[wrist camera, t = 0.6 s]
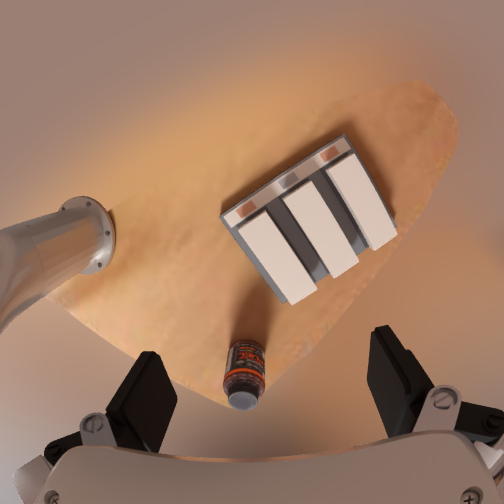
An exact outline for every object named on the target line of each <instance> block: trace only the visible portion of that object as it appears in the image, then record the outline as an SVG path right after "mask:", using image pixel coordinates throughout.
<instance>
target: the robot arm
mask: <svg viewBox="0 0 504 504" xmlns="http://www.w3.org/2000/svg"><path fill="white" fill-rule="evenodd" d="M109 231H110V232H109ZM114 249H115V230H114V226H113V223H112V220H111V218H110V216H109V214H108V213H107V211H106V210H105V208H104V207H103V206H102V205H101V204H100V203H99V202H97V201H96V200H94V199H92V198H90V197H85V196H80V197H74V198H72V199H69V200H68V201H66V202H65V203H64V204H63V205H62V206H61V208H60V209H59V211H58V212H56V213H52V214H49V215H45V216H41V217H38V218H35V219H31V220H28V221H25V222H22V223H19V224H15V225H12V226H10V227H6V228H3V229H1V230H0V334H1V333H2V332H3V331H4V329H5V328H6V327H7V326H8V325H9V324H10V323H11V322H12V321H13V320H14V319H15V318H16V317H17V316H19V315H20V314H21V313H22V312H23V311H25V310H26V309H27V308H29V307H30V306H31V305H33V304H34V303H36V302H37V301H38V300H40V299H41V298H43V297H44V296H46V295H47V294H48V293H50V292H51V291H53V290H54V289H56V288H57V287H59V286H60V285H61V284H63V283H64V282H66V281H67V280H69V279H70V278H72V277H73V276H75V275H77V274H78V273H81V274H86V275H91V274H95V273H97V272H99V271H101V270H102V269H104V268H105V267H106V266H107V265H108V264H109V262H110V260H111V259H112V256H113V253H114ZM367 382H368V386H369V388H370V391H371V393H372V396H373V398H374V401H375V403H376V406H377V409H378V411H379V414H380V416H381V419H382V422H383V424H384V427H385V430H386V432H387V435H388V438H387V439H383V440H379V441H375V442H371V443H367V444H363V445H358V446H353V447H348V448H342V449H338V450H332V451H326V452H320V453H312V454H304V455H296V456H285V457H273V458H250V459H224V458H223V459H222V458H200V457H187V456H177V455H168V454H161V453H158V452H159V450H160V447H161V444H162V441H163V439H164V436H165V433H166V430H167V428H168V425H169V422H170V420H171V417H172V414H173V412H174V409H175V406H176V404H177V395H176V392H175V390H174V388H173V386H172V384H171V381H170V379H169V377H168V374H167V372H166V370H165V367H164V365H163V362H162V360H161V357H160V355H158V354H156V352H154V351H143V352H142V353H141V354H140V356H139V357H138V359H137V360H136V362H135V364H134V365H133V367H132V368H131V370H130V372H129V373H128V375H127V376H126V378H125V379H124V381H123V382H122V384H121V385H120V387H119V389H118V390H117V392H116V394H115V395H114V397H113V398H112V400H111V401H110V403H109V405H108V406H107V408H106V411H107V412H106V414H105V415H104V414H102V413H91V414H89V415H87V416H86V417H85V418H83V419H82V421H81V423H80V431H78V432H76V433H73V434H71V435H68V436H65V437H63V438H60V439H57V440H55V441H53V442H50V443H49V444H48V445H47V447H46V448H45V451H44V456H42V455H39V456H38V457H36V458H35V459H33V460H32V461H30V462H29V463H27V464H25V465H24V466H22V467H21V468H19V469H18V470H17V471H16V472H15V473H14V475H13V481H14V484H15V486H16V488H17V490H18V493H19V495H20V497H21V499H22V500H23V502H24V504H504V412H503V411H502V410H499V409H496V408H491V407H486V406H481V405H476V404H472V403H467V402H463V401H461V394H460V392H459V391H458V390H457V389H456V388H454V387H453V386H449V385H439V386H437V387H435V386H434V385H433V384H432V382H431V380H430V378H429V377H428V375H427V374H426V373H425V371H424V370H423V368H422V366H421V365H420V363H419V362H418V360H417V359H416V358H415V356H414V355H413V353H412V352H411V351H410V350H405V348H404V347H403V345H402V344H401V342H400V341H399V339H398V338H397V337H396V335H395V334H394V332H393V331H392V329H391V328H390V327H389V326H388V325H385V326H380V327H376V328H375V331H373V332H371V340H370V353H369V364H368V373H367Z"/></svg>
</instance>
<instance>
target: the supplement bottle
mask: <svg viewBox="0 0 504 504" xmlns="http://www.w3.org/2000/svg"><path fill="white" fill-rule="evenodd" d="M223 389H224V392H225V394H226V395H227V396H228V403H229V405H230V406H231V407H233V408H234V409H237V410H242V411H244V410H250V409H253V408H254V407H255V406H256V405H257V404H258V398H260V397H261V396H262V394H263V393H264V390H265V355H264V351H263V349H262V347H261V346H260V345H258V344H257V343H255V342H252V341H248V340H244V341H239V342H236V343H235V344H233V345H232V346H231V348H230V349H229V352H228V357H227V363H226V370H225V375H224V382H223Z"/></svg>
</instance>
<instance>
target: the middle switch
mask: <svg viewBox="0 0 504 504" xmlns="http://www.w3.org/2000/svg"><path fill="white" fill-rule="evenodd" d="M282 199H283V201H284V202H285V204H286V205H287V207H288V208H289V210H290V211H291V213H292V214H293V216H294V217H295V219H296V220H297V222H298V223H299V225H300V226H301V228H302V229H303V231H304V232H305V234H306V235H307V237H308V238H309V240H310V242H311V243H312V245H313V246H314V248H315V249H316V251H317V253H318V254H319V256H320V257H321V259H322V261H323V262H324V264H325V265H326V267H327V269H328V270H329V272H330V274H331V275H332V276H333V278H336V277H337V276H339V275H340V274H342V273H343V272H345V271H346V270H348V269H349V268H351V267H352V266H354V265H355V264H357V263H358V262H359V260H358V258H357V256H356V254H355V253H354V251H353V249H352V247H351V245H350V244H349V242H348V240H347V238H346V237H345V235H344V233H343V232H342V230H341V228H340V226H339V225H338V223H337V221H336V220H335V218H334V216H333V215H332V213H331V211H330V210H329V208H328V207H327V205H326V203H325V202H324V200H323V198H322V197H321V195H320V194H319V192H318V191H317V189H316V187H315V186H314V184H313V183H312V181H308V182H306V183H305V184H303V185H302V186H300V187H299V188H297V189H296V190H294V191H293V192H291V193H290V194H288V195H287V196H285V197H284V198H282Z"/></svg>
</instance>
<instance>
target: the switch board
mask: <svg viewBox="0 0 504 504" xmlns="http://www.w3.org/2000/svg"><path fill="white" fill-rule="evenodd" d="M350 154H355V155H356V157H357V159H358V160H359V162H360V164H361V165H362V167H363V169H364V170H365V172H366V174H367V176H368V177H369V179H370V181H371V183H372V185H373V186H374V188H375V190H376V192H377V194H378V196H379V198H380V199H381V201H382V203H383V205H384V207H385V209H386V211H387V213H388V215H389V217H390V219H391V221H392V223H393V225H394V228H396V227H397V226H396V224H395V222H394V219H393V217H392V215H391V213H390V211H389V209H388V207H387V205H386V203H385V201H384V199H383V198H382V196H381V194H380V192H379V190H378V188H377V186H376V184H375V183H374V181H373V179H372V177H371V175H370V174H369V172H368V170H367V168H366V167H365V165H364V163H363V162H362V160H361V158H360V157H359V155H358V153H357V152H356V150H355V148H354V147H353V145H352V144H351V142H350V141H349V139H348V137H347V136H346V134H342V135H341V136H339V137H337V138H336V139H334V140H332V141H331V142H329V143H328V144H326V145H324V146H323V147H321V148H320V149H318V150H317V151H315V152H313V153H312V154H310V155H309V156H307V157H306V158H304V159H302V160H301V161H299V162H298V163H296V164H295V165H293V166H292V167H290V168H289V169H287V170H286V171H284V172H283V173H281V174H280V175H278V176H277V177H275V178H274V179H272V180H271V181H269V182H268V183H266V184H265V185H263V186H262V187H260V188H259V189H257V190H256V191H254V192H253V193H251V194H250V195H249V196H247V197H246V198H244V199H243V200H241V201H240V202H238V203H237V204H236V205H234V206H233V207H231V208H230V209H229V210H227V211H226V212H224V213H223V214H222V215H220V216H219V218H220V219H221V221H222V222H223V224H224V225H225V226H226V228H227V229H228V230H229V232H230V233H231V235H232V236H233V237H234V239H235V240H236V241H237V243H238V244H239V246H240V247H241V248H242V250H243V251H244V252H245V254H246V255H247V256H248V258H249V259H250V261H251V262H252V263H253V265H254V266H255V267H256V269H257V270H258V271H259V273H260V274H261V276H262V277H263V278H264V280H265V281H266V282H267V284H268V285H269V286H270V288H271V289H272V291H273V292H274V293H275V295H276V296H277V297H278V299H279V300H280V301H281V303H282V304H283V303H284V302H286V301H288V300H287V298H286V297H285V295H284V294H283V293H282V291H281V290H280V288H279V287H278V286H277V284H276V283H275V282H274V280H273V279H272V277H271V276H270V275H269V273H268V272H267V270H266V269H265V268H264V266H263V265H262V264H261V262H260V261H259V259H258V258H257V257H256V255H255V254H254V252H253V251H252V250H251V248H250V247H249V246H248V244H247V243H246V241H245V240H244V239H243V237H242V236H241V235H240V233H239V232H238V229H239V228H240V227H241V226H243V225H244V224H246V223H247V222H248V221H250V220H251V219H253V218H254V217H256V216H257V215H259V214H260V213H262V212H263V211H265V210H266V212H267V213H268V215H269V216H270V218H271V219H272V220H273V222H274V223H275V225H276V226H277V228H278V229H279V231H280V232H281V234H282V235H283V236H284V238H285V239H286V241H287V242H288V244H289V245H290V247H291V248H292V250H293V251H294V253H295V254H296V256H297V257H298V259H299V260H300V262H301V263H302V265H303V266H304V268H305V269H306V271H307V272H308V274H309V275H310V277H311V278H312V280H313V282H314V283H316V282H318V281H319V280H321V279H322V278H324V277H325V276H327V275H329V274H330V272H329V270H328V269H327V267H326V265H325V264H324V262H323V261H322V259H321V257H320V256H319V254H318V253H317V251H316V249H315V248H314V246H313V245H312V243H311V242H310V240H309V238H308V237H307V235H306V234H305V232H304V231H303V229H302V228H301V226H300V225H299V223H298V222H297V220H296V219H295V217H294V216H293V214H292V213H291V211H290V210H289V208H288V207H287V205H286V204H285V202H284V201H283V199H282V198H284V197H285V196H287V195H288V194H290V193H291V192H293V191H294V190H296V189H297V188H299V187H300V186H302V185H303V184H305V183H306V182H308V181H312V183H313V184H314V186H315V187H316V189H317V191H318V192H319V194H320V195H321V197H322V198H323V200H324V202H325V203H326V205H327V207H328V208H329V210H330V211H331V213H332V215H333V216H334V218H335V220H336V221H337V223H338V225H339V226H340V228H341V230H342V232H343V233H344V235H345V237H346V238H347V240H348V242H349V244H350V245H351V247H352V249H353V251H354V253H355V254H356V256H357V255H358V254H360V253H361V252H363V251H364V250H365V249H367V248H368V247H369V245H368V243H367V241H366V239H365V237H364V235H363V233H362V232H361V230H360V228H359V226H358V224H357V222H356V221H355V219H354V217H353V215H352V214H351V212H350V210H349V208H348V207H347V205H346V203H345V202H344V200H343V198H342V197H341V195H340V193H339V192H338V190H337V188H336V187H335V185H334V183H333V182H332V180H331V179H330V177H329V175H328V174H327V172H326V171H325V170H326V169H328V168H329V167H331V166H333V165H334V164H336V163H337V162H339V161H340V160H342V159H343V158H345V157H347V156H348V155H350Z"/></svg>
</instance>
